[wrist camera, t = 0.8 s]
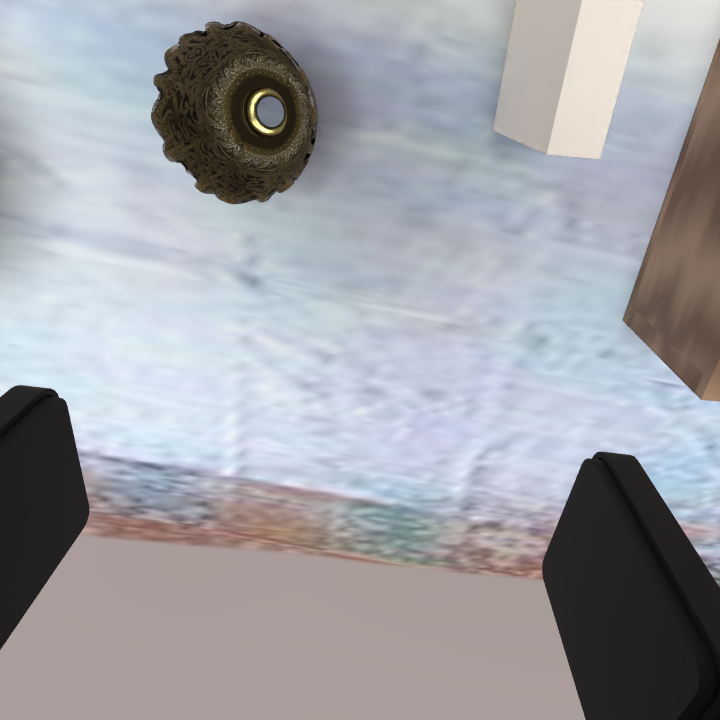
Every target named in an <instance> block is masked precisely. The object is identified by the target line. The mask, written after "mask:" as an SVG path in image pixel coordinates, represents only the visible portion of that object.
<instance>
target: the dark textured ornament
mask: <svg viewBox="0 0 720 720" xmlns="http://www.w3.org/2000/svg"><path fill="white" fill-rule="evenodd" d="M205 29H206V31H195V32H193V33H188V34H184V35H182V36H181V37H180V38H179V42H178V44H179V45H174V46H173V47H171V48H170V49H168V50H167V51H166V53H165V56H164V59H165V64H166V66H167V68H168V70H167V71H165V72H164V73H161V74H157V75H155V76H154V85H155V86H156V87H157V89H158V91H160V93H159V96H158V99H157V100H156V102H155V103H154V105H153V109H152V113H151V119H152V123H153V125H154V127H155V129H156V130H157V132H158V133H159V135H160V136H161V137H162V139H163V141H164V142H165V143H164V144H163V152H164V155H165V157H166V158H167V159H168V160H169V161H171V162H177V163H178V162H179V163H181V164H182V165H183V166H184V167H185V169H186V172H187V173H189V174H191V175H192V176H193V177H194V178H195V179H196V180H197V183H195V187H196V188H197V189H198V190H199V191H201V192H202V193H205V194H214V195H216V197H217V198H218V199H220V200H222V201H224V202H226V203H229V204H241V203H246V202H249V201H252V200H256V199H257V200H258V202H265V201H267V200H268V199H269V198H270V197H271V196H272V195H273V194H274V193H275V192H278V193H282V192H284V191H285V190H287V189H288V188H289V187H291V186H292V185H293V184H294V181H295V180H297V178H298V177H299V176H300V174H301V173H302V171H303V170H304V168H305V166H306V164H307V163H308V159H309V157H310V155H311V154H312V151H313V147H314V143H315V137H316V132H317V106H316V101H315V97H314V94H313V90H312V88H311V86H310V83H309V81H308V79H307V77H306V75H305V73H304V72H303V70H302V69H301V67H300V66H299V65H298V63H297V62H296V61H295V60H294V59H293V57H292V56H291V55H290V53H289V52H288V51H286V50H285V49H284V48H283V47H282V46H281V44H280V43H279V42H278V41H277V40H275V39H274V38H273V37H271V36H270V35H268V34H266V33H263V32H261V31H260V30H258V29H256V28H255V27H253V26H252V25H250V24H247V23H244V22H239V21H237V22H233V23H231V24H226V25H223V24H221V23H219V22H208V23H207V24H206V25H205ZM267 96H271V97H275V98H276V99H278V100H279V101H280V102H281V104H282V106H283V108H284V118H283V120H282V122H281V123H280V124H279V125H278V126H276V127H267V126H265V125H263V124H262V123H261V122H260V121H259V119H258V116H257V112H256V109H257V105H258V103H259V101H260V100H261V99H262V98H264V97H267Z"/></svg>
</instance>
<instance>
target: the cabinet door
mask: <svg viewBox="0 0 720 720" xmlns="http://www.w3.org/2000/svg"><path fill="white" fill-rule="evenodd" d="M643 2H644V0H516V3H515V8H514V14H513V20H512V25H511V31H510V36H509V42H508V47H507V53H506V59H505V64H504V70H503V75H502V81H501V87H500V92H499V98H498V103H497V109H496V114H495V120H494V126H493V131H495V132H497V133H499V134H502V135H504V136H506V137H508V138H511V139H513V140H515V141H517V142H520V143H522V144H524V145H526V146H529V147H531V148H533V149H535V150H538V151H540V152H542V153H544V154H547V155H558V156H570V157H582V158H594V159H600V157H601V153H602V150H603V146H604V143H605V139H606V135H607V132H608V128H609V125H610V121H611V117H612V114H613V110H614V107H615V103H616V99H617V96H618V92H619V89H620V85H621V81H622V78H623V74H624V71H625V67H626V63H627V60H628V56H629V53H630V49H631V45H632V42H633V38H634V35H635V31H636V27H637V24H638V20H639V17H640V13H641V9H642V6H643Z"/></svg>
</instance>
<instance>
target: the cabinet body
mask: <svg viewBox="0 0 720 720" xmlns="http://www.w3.org/2000/svg"><path fill="white" fill-rule="evenodd" d="M623 321H624V322H625V323H626V324H627V325H628V326H629V327H630V328H631V329H632V330H633V331H634V332H635V333H636V334H637V335H638V336H639V337H640V338H641V339H642V340H643V341H644V342H645V343H646V345H647V346H648V347H649V348H650V349H651V350H652V351H653V352H654V353H655V354H656V355H657V356H658V357H659V358H660V359H661V360H662V361H663V362H664V363H665V364H666V365H667V366H668V367H669V368H670V369H671V370H672V371H673V372H674V373H675V374H676V375H677V376H678V377H679V378H680V379H681V380H682V381H683V382H684V383H685V384H686V385H687V386H688V387H689V388H690V389H691V390H692V391H693V392H694V393H695V394H696V395H697V396H698V397H699V398H700V399H701V400H710V401H720V41H719V44H718V47H717V50H716V52H715V55H714V58H713V61H712V64H711V67H710V70H709V73H708V76H707V78H706V81H705V84H704V87H703V90H702V93H701V96H700V99H699V102H698V104H697V107H696V110H695V113H694V116H693V119H692V122H691V125H690V127H689V130H688V133H687V136H686V139H685V142H684V145H683V148H682V151H681V153H680V156H679V159H678V162H677V165H676V168H675V171H674V174H673V177H672V179H671V182H670V185H669V188H668V191H667V194H666V197H665V200H664V203H663V205H662V208H661V211H660V214H659V217H658V220H657V223H656V226H655V229H654V231H653V234H652V237H651V240H650V243H649V246H648V249H647V252H646V255H645V257H644V260H643V263H642V266H641V269H640V272H639V275H638V278H637V281H636V283H635V286H634V289H633V292H632V295H631V298H630V301H629V304H628V307H627V309H626V312H625V315H624V318H623Z"/></svg>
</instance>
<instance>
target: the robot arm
mask: <svg viewBox="0 0 720 720" xmlns="http://www.w3.org/2000/svg"><path fill="white" fill-rule="evenodd" d="M88 516H89V503H88V499H87V494H86V490H85V485H84V480H83V476H82V471H81V467H80V462H79V457H78V453H77V448H76V444H75V439H74V434H73V430H72V425H71V421H70V416H69V411H68V407H67V404H66V401H65V400H64V399H62V398H59V396H58V394H57V393H56V391H55V390H53V389H49V388H41V387H32V386H23V385H19V386H15V387H13V388H11V389H10V390H8V391H7V392H6V393H5V394H4V395H2V396H1V397H0V649H1V648H2V647H3V645H4V644H5V642H6V641H7V639H8V638H9V636H10V635H11V633H12V632H13V630H14V629H15V628H16V626H17V625H18V623H19V622H20V620H21V619H22V617H23V616H24V614H25V613H26V611H27V610H28V609H29V607H30V606H31V604H32V603H33V601H34V600H35V598H36V597H37V595H38V594H39V593H40V591H41V589H42V588H43V587H44V585H45V584H46V582H47V581H48V579H49V578H50V576H51V575H52V574H53V572H54V571H55V569H56V568H57V566H58V565H59V563H60V562H61V560H62V559H63V557H64V556H65V555H66V553H67V551H68V550H69V548H70V547H71V546H72V544H73V543H74V541H75V540H76V538H77V537H78V536H79V534H80V533H81V531H82V530H83V528H84V526H85V525H86V522H87V520H88ZM542 573H543V579H544V583H545V586H546V590H547V593H548V596H549V599H550V603H551V606H552V610H553V613H554V616H555V619H556V622H557V626H558V630H559V633H560V636H561V639H562V643H563V646H564V649H565V653H566V656H567V659H568V663H569V666H570V669H571V673H572V676H573V679H574V683H575V686H576V689H577V693H578V696H579V699H580V702H581V706H582V709H583V712H584V716H585V719H586V720H720V588H719V586H718V584H717V583H716V581H715V580H714V578H713V577H712V575H711V574H710V572H709V570H708V569H707V567H706V566H705V564H704V563H703V561H702V560H701V558H700V556H699V555H698V553H697V552H696V550H695V549H694V547H693V546H692V544H691V542H690V541H689V539H688V538H687V536H686V535H685V533H684V532H683V530H682V528H681V527H680V525H679V524H678V522H677V521H676V519H675V517H674V516H673V514H672V513H671V511H670V510H669V508H668V507H667V505H666V503H665V502H664V500H663V499H662V497H661V496H660V494H659V493H658V491H657V489H656V488H655V486H654V485H653V483H652V482H651V480H650V479H649V477H648V475H647V474H646V472H645V471H644V469H643V468H642V466H641V465H640V463H639V461H638V460H637V459H636V458H635V457H634V456H632V455H626V454H617V453H608V452H597V453H596V454H595V455H594V456H593V458H592V459H589V458H588V459H585V460H584V462H583V463H582V465H581V468H580V470H579V473H578V475H577V478H576V480H575V483H574V485H573V488H572V490H571V493H570V495H569V497H568V500H567V502H566V505H565V507H564V510H563V512H562V515H561V517H560V520H559V522H558V525H557V527H556V530H555V532H554V534H553V537H552V539H551V542H550V544H549V547H548V549H547V552H546V554H545V557H544V560H543V565H542Z"/></svg>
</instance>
